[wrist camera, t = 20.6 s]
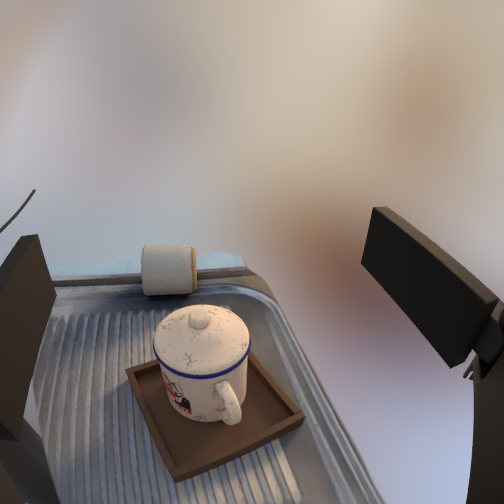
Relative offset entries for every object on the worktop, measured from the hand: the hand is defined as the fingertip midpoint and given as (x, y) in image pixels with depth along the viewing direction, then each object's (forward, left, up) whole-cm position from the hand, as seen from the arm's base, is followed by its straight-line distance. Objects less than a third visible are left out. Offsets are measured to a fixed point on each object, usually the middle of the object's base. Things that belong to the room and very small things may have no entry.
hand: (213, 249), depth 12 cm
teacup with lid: (-9, +3, -25) cm, 26 cm away
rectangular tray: (-9, +3, -25) cm, 27 cm away
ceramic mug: (-32, +7, -25) cm, 41 cm away
